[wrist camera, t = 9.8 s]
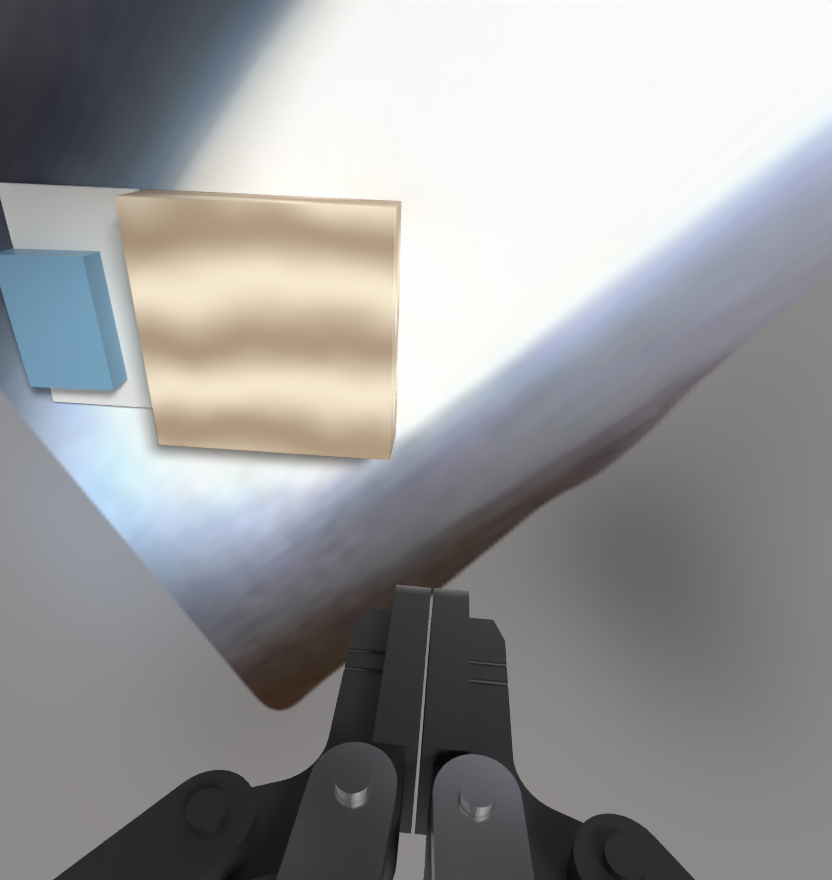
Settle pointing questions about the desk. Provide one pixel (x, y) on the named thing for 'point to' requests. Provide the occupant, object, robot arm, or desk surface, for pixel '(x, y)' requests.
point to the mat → (85, 229)
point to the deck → (267, 319)
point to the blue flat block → (62, 318)
